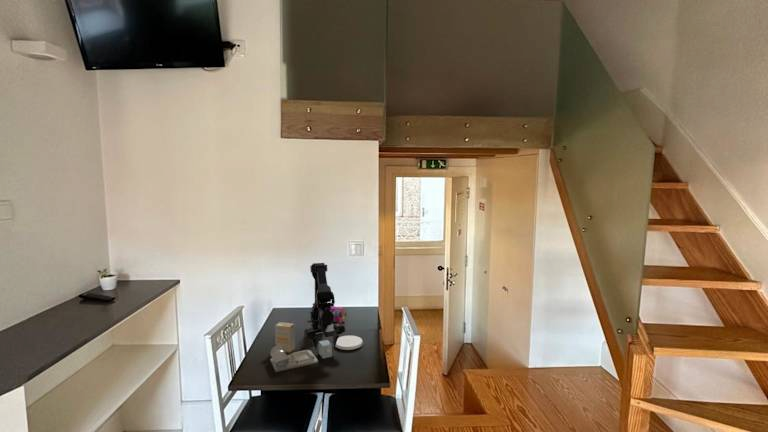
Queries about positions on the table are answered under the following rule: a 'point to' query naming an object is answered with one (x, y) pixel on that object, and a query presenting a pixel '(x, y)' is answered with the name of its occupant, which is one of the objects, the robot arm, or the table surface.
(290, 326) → the supplement box
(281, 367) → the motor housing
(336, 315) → the pencil case
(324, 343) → the grey block with cylinder
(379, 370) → the table surface
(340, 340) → the plastic lid
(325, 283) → the robot arm
